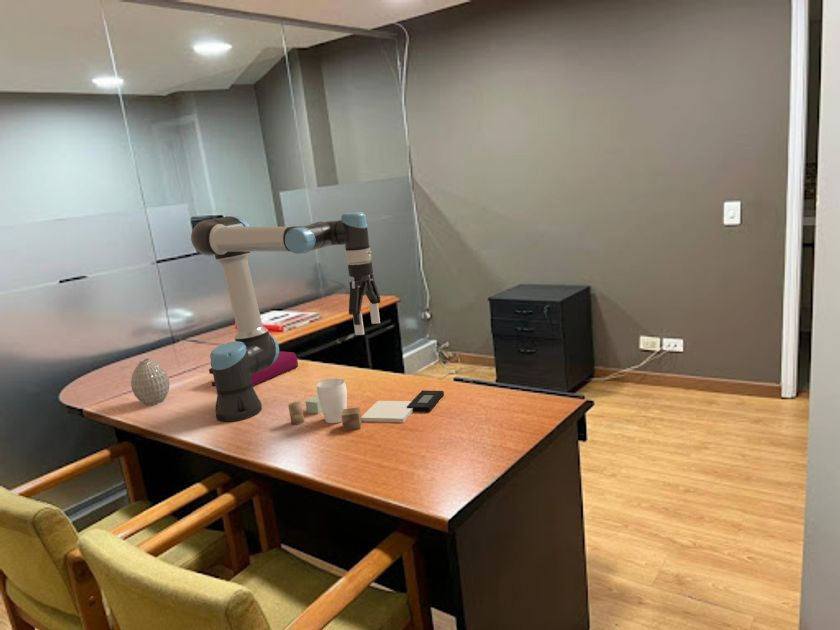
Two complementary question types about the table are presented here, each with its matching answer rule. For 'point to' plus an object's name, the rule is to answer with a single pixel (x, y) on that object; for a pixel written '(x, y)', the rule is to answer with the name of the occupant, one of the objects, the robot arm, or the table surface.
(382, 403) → the tile
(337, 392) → the cup
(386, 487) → the table surface
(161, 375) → the vase
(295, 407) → the oak cylinder
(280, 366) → the book
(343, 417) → the walnut cube
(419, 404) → the vhs tape
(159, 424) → the table surface
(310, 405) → the sage block
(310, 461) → the table surface
